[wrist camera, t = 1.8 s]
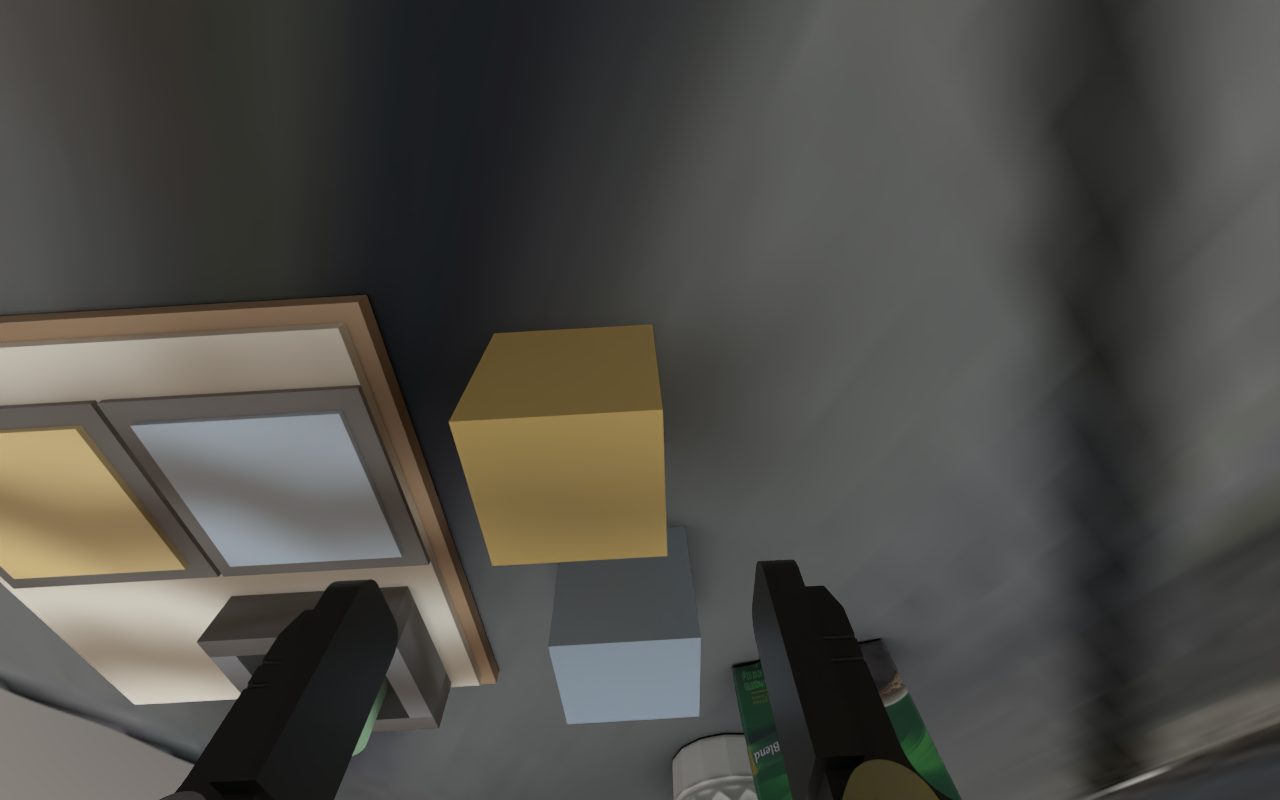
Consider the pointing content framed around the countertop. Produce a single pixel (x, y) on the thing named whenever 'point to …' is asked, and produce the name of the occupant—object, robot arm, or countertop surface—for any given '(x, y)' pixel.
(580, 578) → the blue-grey cube block
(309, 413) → the cream sorting board
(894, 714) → the coffee box
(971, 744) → the countertop surface
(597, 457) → the yellow cube
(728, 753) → the white cup
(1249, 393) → the countertop surface
